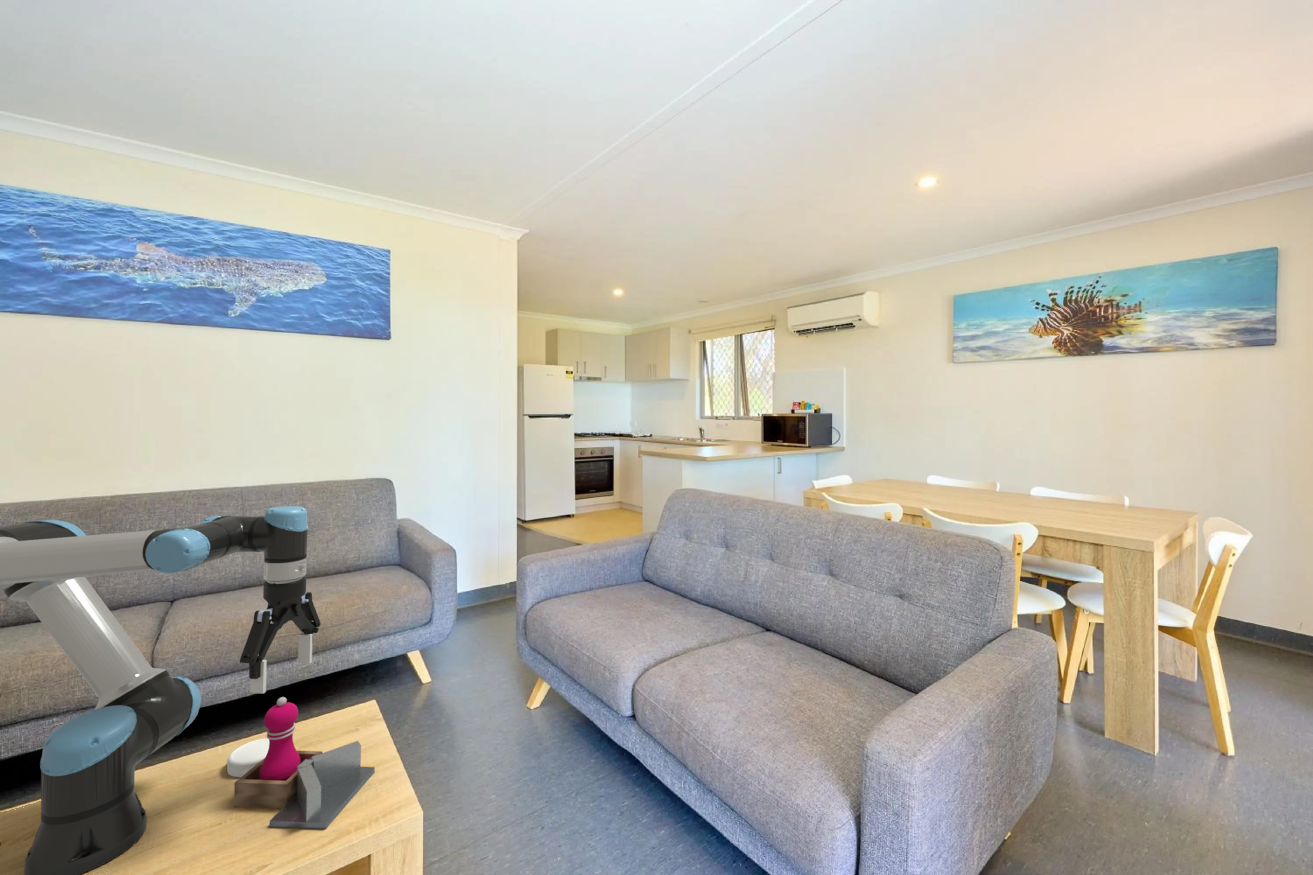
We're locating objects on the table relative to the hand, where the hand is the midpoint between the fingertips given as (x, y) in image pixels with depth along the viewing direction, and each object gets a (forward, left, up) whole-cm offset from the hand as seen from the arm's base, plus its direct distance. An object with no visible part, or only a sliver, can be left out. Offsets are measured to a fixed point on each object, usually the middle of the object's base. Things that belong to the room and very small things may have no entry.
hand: (282, 676), depth 112 cm
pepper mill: (0, 0, -25) cm, 25 cm away
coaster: (-12, +8, -25) cm, 29 cm away
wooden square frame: (0, 0, -25) cm, 25 cm away
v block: (+11, -2, -25) cm, 27 cm away
